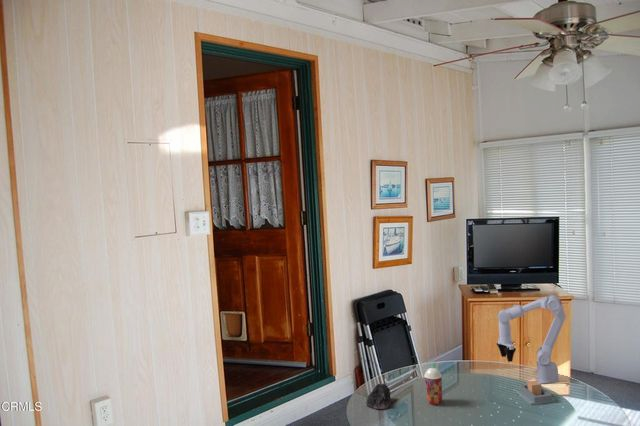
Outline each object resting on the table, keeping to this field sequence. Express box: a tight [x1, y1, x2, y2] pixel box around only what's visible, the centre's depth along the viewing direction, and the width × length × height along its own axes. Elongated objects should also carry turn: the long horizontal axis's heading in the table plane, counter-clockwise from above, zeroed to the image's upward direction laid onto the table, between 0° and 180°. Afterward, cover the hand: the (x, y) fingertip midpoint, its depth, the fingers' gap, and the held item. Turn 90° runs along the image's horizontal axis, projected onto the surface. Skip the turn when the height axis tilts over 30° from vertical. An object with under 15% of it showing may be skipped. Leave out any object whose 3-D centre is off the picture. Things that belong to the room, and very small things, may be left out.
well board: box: [515, 383, 557, 406], centre depth 248 cm, size 12×15×3 cm
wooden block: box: [526, 380, 542, 396], centre depth 248 cm, size 4×4×6 cm
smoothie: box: [423, 362, 443, 406], centre depth 251 cm, size 8×8×20 cm
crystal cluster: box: [365, 383, 392, 410], centre depth 255 cm, size 13×14×10 cm
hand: (506, 358), depth 272 cm, fingers open, 7 cm apart
